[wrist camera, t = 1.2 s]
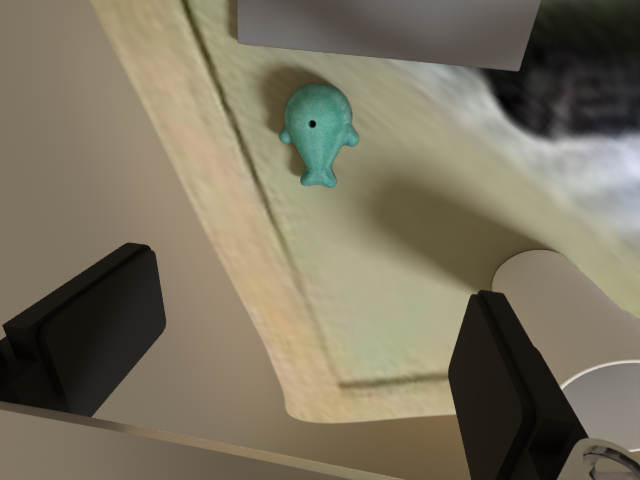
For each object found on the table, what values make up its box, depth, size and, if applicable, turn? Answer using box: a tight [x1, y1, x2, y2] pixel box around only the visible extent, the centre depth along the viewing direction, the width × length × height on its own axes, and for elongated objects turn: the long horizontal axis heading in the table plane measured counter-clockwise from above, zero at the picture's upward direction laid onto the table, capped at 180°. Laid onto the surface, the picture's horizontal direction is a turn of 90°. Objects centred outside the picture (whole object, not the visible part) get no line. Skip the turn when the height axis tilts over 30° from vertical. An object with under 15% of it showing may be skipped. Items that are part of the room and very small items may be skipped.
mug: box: [492, 250, 640, 452], centre depth 23 cm, size 10×7×12 cm, turn 84°
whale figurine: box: [279, 83, 359, 188], centre depth 25 cm, size 6×7×4 cm
